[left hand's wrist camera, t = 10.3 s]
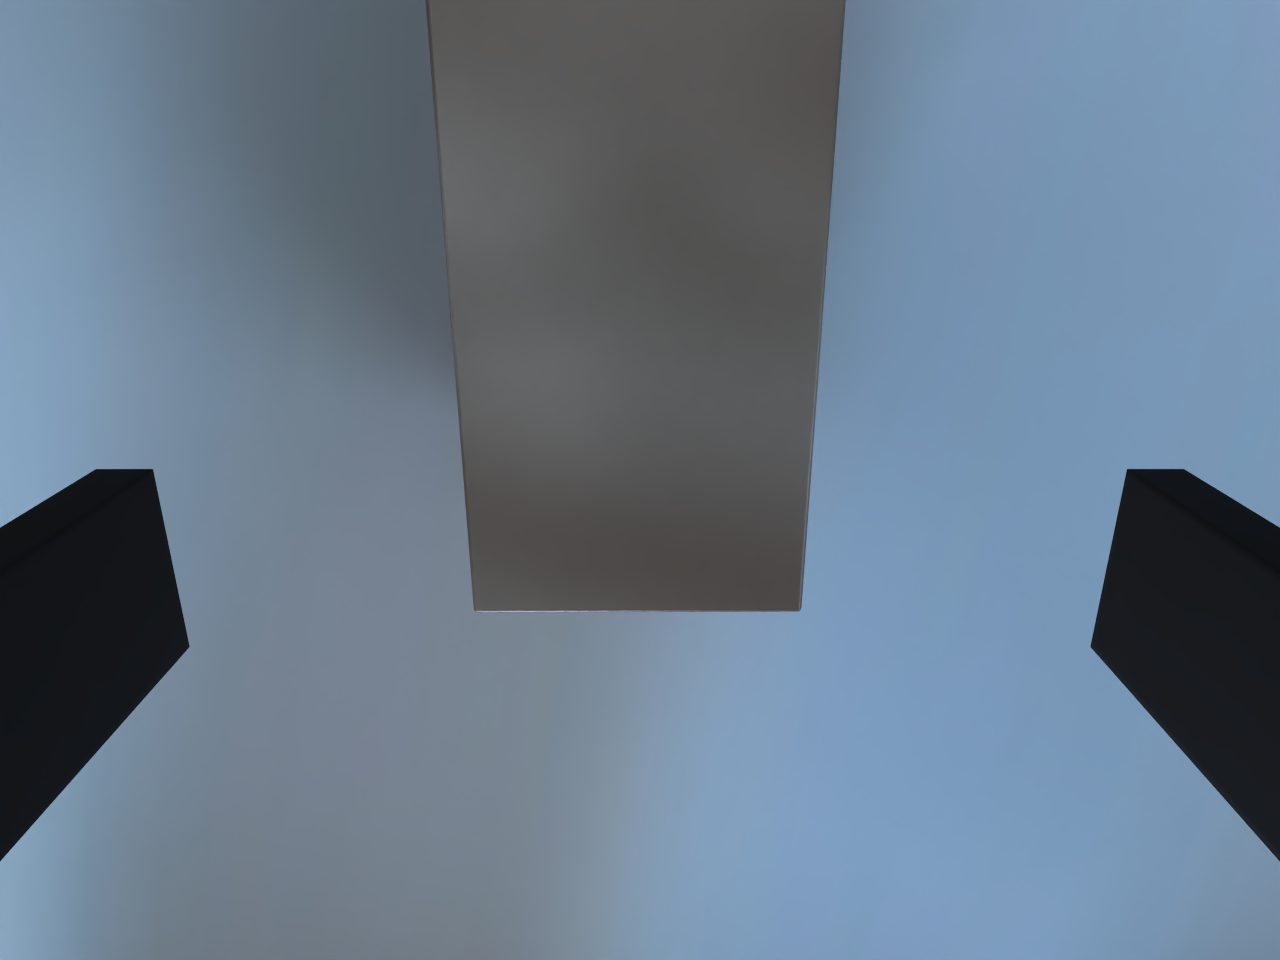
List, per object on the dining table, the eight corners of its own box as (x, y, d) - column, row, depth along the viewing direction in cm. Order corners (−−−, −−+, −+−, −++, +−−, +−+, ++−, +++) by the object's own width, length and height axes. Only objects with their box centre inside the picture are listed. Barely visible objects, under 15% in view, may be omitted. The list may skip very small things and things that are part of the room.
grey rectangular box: (496, -424, 21) (343, -1017, 10) (774, -424, 21) (921, -1017, 10) (535, 428, 28) (472, 613, 18) (739, 427, 28) (801, 613, 18)
